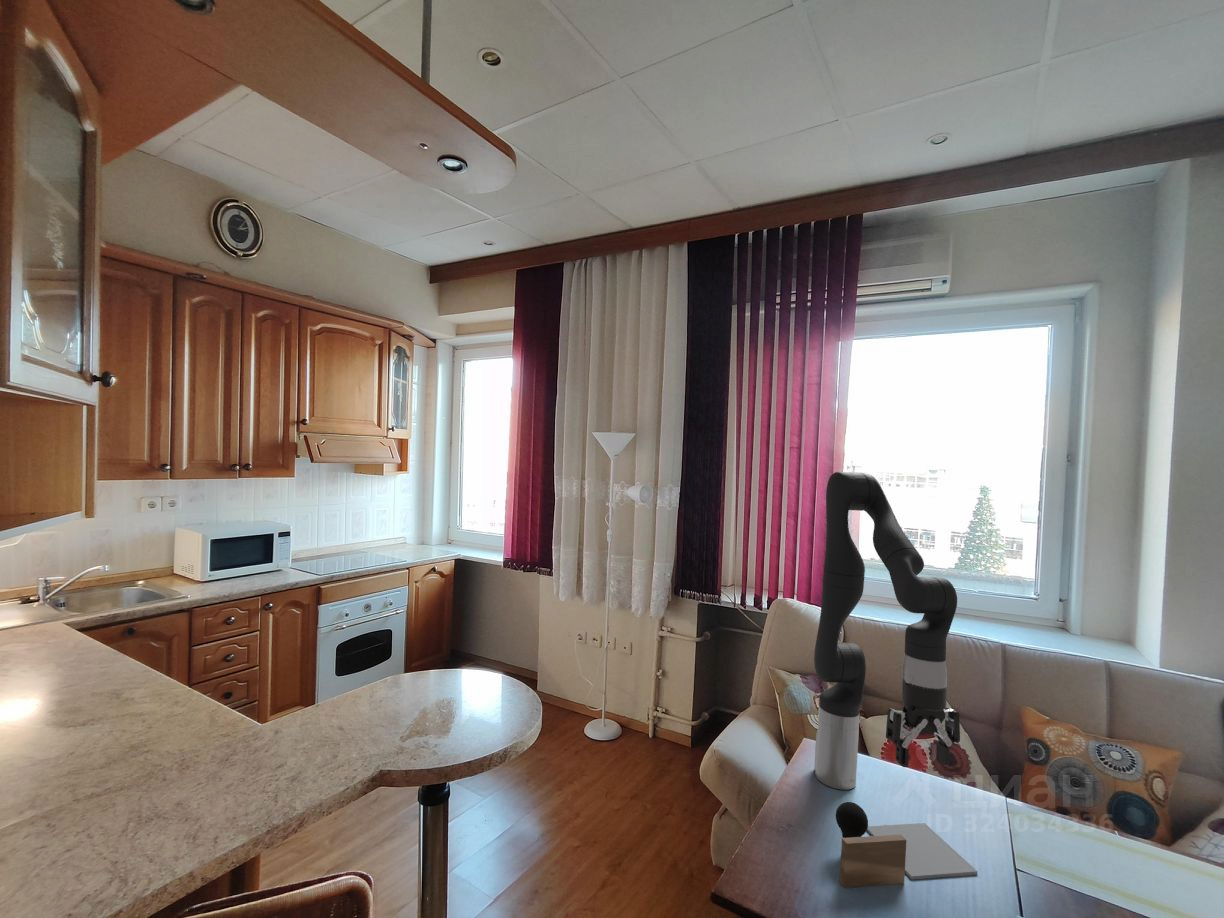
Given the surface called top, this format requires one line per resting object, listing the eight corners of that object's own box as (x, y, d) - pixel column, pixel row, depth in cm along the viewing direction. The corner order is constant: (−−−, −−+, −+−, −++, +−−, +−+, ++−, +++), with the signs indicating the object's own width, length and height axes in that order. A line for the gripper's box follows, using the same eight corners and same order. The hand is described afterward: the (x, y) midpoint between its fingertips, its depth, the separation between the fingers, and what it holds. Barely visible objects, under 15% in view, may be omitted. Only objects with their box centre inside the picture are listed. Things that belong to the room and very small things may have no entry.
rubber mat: (865, 829, 117) (865, 826, 117) (924, 825, 119) (924, 823, 119) (911, 879, 103) (911, 876, 103) (977, 874, 105) (977, 871, 105)
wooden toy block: (839, 881, 101) (841, 838, 101) (898, 877, 103) (900, 834, 103) (844, 887, 100) (846, 843, 100) (904, 883, 102) (906, 840, 102)
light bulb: (863, 849, 111) (866, 799, 111) (868, 869, 105) (871, 816, 105) (832, 842, 112) (834, 792, 112) (835, 861, 106) (838, 810, 106)
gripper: (942, 672, 113) (940, 753, 112) (878, 673, 110) (876, 756, 110) (971, 686, 105) (970, 773, 105) (904, 687, 103) (902, 776, 102)
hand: (922, 764), depth 107 cm, fingers open, 8 cm apart
